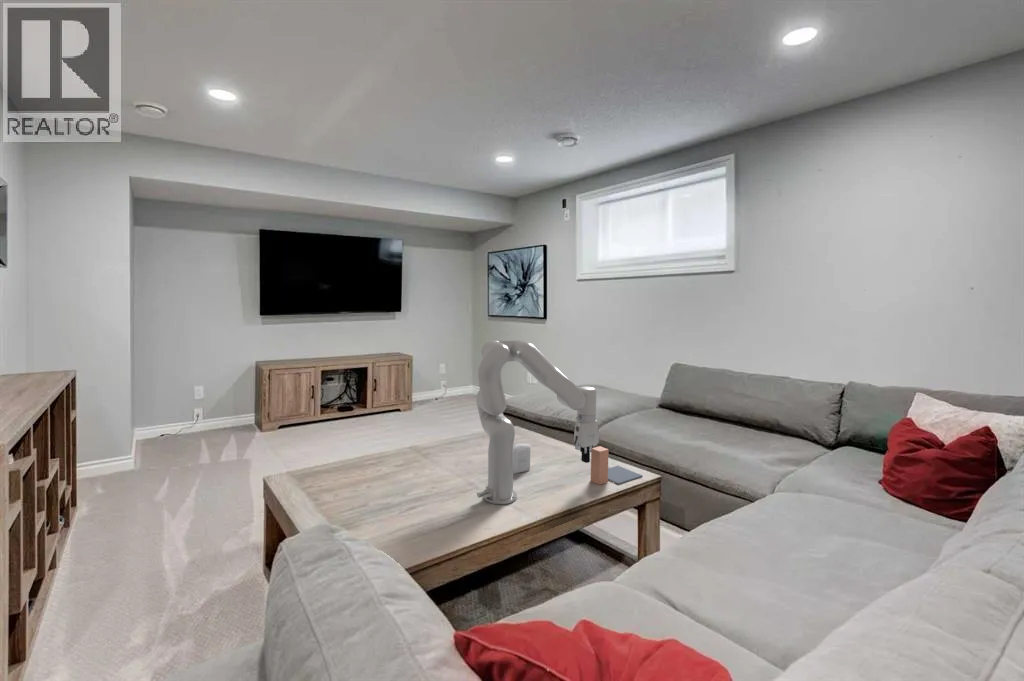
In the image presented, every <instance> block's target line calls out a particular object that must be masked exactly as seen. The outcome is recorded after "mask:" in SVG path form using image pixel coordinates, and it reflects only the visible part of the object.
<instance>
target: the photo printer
mask: <svg viewBox="0 0 1024 681" xmlns="http://www.w3.org/2000/svg"><path fill="white" fill-rule="evenodd" d="M530 470H531V447H530V444H528V443H522V442H521V443H516V444H513V475H514V474H515V475H516V474H519V473H523V472H528V471H530Z"/></svg>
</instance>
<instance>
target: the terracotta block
mask: <svg viewBox="0 0 1024 681" xmlns="http://www.w3.org/2000/svg"><path fill="white" fill-rule="evenodd" d="M609 452H610V451H609V449H608V448H605V447H603V446H600V445H598V446H594V447H593V448H592V449H591V452H590V482H592V483H594V484H597V485H599V486H600V485H603V484H606V483H608V481H609V480H608V468H609V455H610V454H609Z"/></svg>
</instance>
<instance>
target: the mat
mask: <svg viewBox="0 0 1024 681" xmlns="http://www.w3.org/2000/svg"><path fill="white" fill-rule="evenodd" d="M639 478H643V475H642V474H640V473H637V472H635V471H632V470H630V469H627V468H625V467H622V466H619V465H616V466H611V467H608V481H609V482H611V483H613V482H614V484H616V485H618V484H619V485H622V484H624V483H625V484H626V483H628V482H631V481H633V480H637V479H639ZM621 483H622V484H621Z"/></svg>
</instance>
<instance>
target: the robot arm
mask: <svg viewBox="0 0 1024 681" xmlns="http://www.w3.org/2000/svg"><path fill="white" fill-rule="evenodd" d="M480 352H481V356H482V359H481V362H480V364H479V366H478V369H477V380H478V387H479V390H478V391H477V394H476V396H475V397H476V400H475V402H476V408H477V411H478V414H479V420H480V423H481V427H482V429H483V431H484V432H485V434H487V436H488V437H489V440H488V441H489V442H488V447H487V448H488V449H487V450H488V451H487V475H488V476H487V486H485V489H484V490H482V491H478V492H476V497H477V498H479V499H480V498H483V499H484V501H486V502H487V503H488V504H489V503H490V504H493V505H506V504H511V503H513V502H515V501H516V500H517V498H518V496H517V492H516V491H515V490H514V474H513V446H514V445H515V444H514V442H515V437H516V430H515V426H514V424H513V423H512V421H511V420H510V419H509V418H508V417H506V416H505V415H504V412H505V410H506V408H507V400H506V399H507V398H506V395H505V391H504V387H503V382H502V370H503V368H504V367H505V365H506V364H507V363H509V362H510V363H511V362H517V363H519V364H520V365H521V366H522V367H523V368H524V369H526V371H528V373H529V374H531V375H532V376H533V377H534V379H535V380H537V382H539V383H540V384H541V385H542V386H544V387H546V388H547V389H549V390H550V391H552V392H553V393H554V394H556V398H557V401H558V402H559V403H560V404H561V405H563V406H565V407H567V408H569V409H570V410H572V411H576V417H575V419H576V421H575V425H574V431H573V432H574V434H573V444H574V445H575V447H574V449H575V450H576V451H580V453H581V462H583V463H585V464H587V463H591V449H592V448H595V447H597V445H598V444H599V442H600V432H599V431H600V430H599V423H598V420H597V390H596V387H592V386H581V387H578V386H577V385H576V384H575V383H574V382H573V381H571V379H570V378H568V377H567V376H566V375H565V374H563V373H562V372H561V370H559V369H558V368H557V367H556V366H555V365H554V364H553V363H552V362H551V361H550V360H549V359H548V358H547V357H546V356H545V355H544V354H543V353H542V352H541V350H539V349H538V348H537V347H536V346H535V345H534V344H533V343H531V342H528V341H524V340H499V339H498V340H496V339H495V340H493V339H492V340H487V341H486V342H484V344H483V345H482V347H481V350H480Z"/></svg>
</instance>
